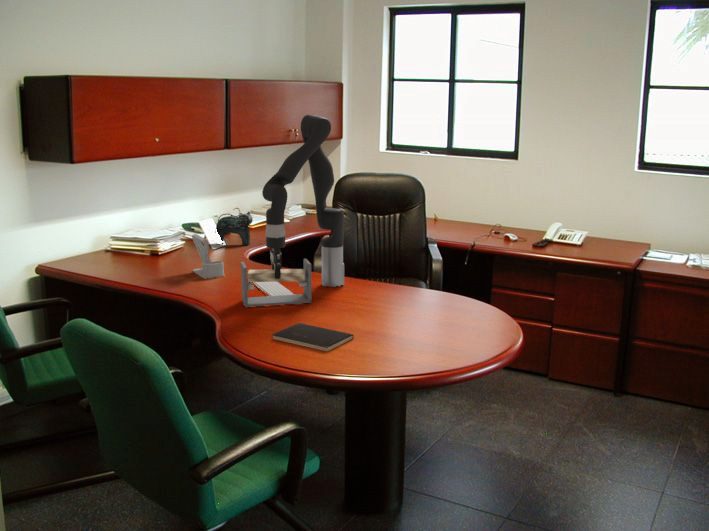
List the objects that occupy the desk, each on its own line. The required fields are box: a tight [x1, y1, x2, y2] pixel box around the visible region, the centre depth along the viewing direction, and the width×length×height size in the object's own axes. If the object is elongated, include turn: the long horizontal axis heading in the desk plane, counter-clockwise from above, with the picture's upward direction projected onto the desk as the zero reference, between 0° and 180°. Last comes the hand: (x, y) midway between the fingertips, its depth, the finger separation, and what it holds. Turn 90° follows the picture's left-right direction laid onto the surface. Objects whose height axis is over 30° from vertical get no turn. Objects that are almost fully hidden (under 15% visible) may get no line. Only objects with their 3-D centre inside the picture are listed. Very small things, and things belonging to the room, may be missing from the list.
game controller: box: [215, 207, 253, 247], centre depth 412 cm, size 20×6×20 cm, turn 79°
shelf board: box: [247, 268, 305, 283], centre depth 305 cm, size 22×6×4 cm, turn 94°
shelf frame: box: [240, 258, 313, 308], centre depth 306 cm, size 26×10×16 cm, turn 104°
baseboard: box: [253, 282, 296, 296], centre depth 327 cm, size 31×3×12 cm
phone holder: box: [191, 233, 226, 280], centre depth 350 cm, size 17×10×18 cm, turn 30°
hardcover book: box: [271, 322, 354, 352], centre depth 265 cm, size 16×23×2 cm
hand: (276, 276), depth 305 cm, fingers closed on shelf board, 6 cm apart
